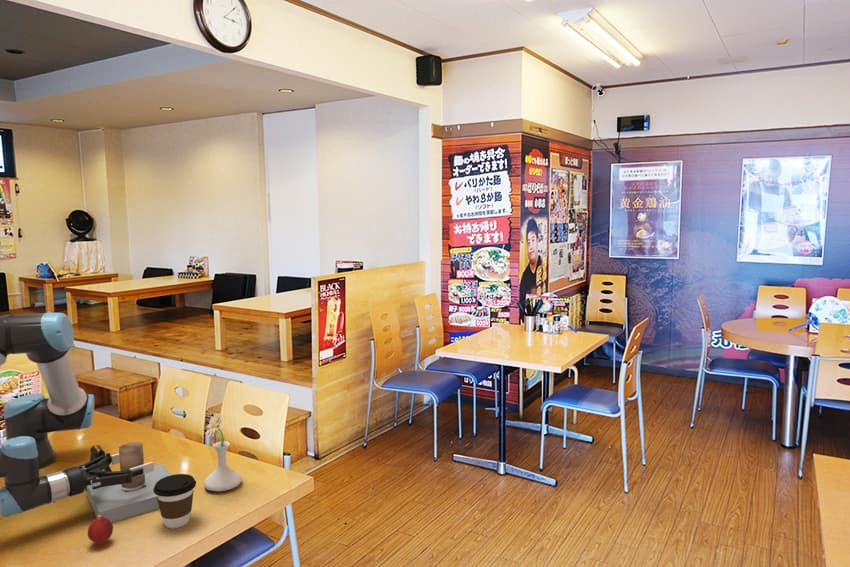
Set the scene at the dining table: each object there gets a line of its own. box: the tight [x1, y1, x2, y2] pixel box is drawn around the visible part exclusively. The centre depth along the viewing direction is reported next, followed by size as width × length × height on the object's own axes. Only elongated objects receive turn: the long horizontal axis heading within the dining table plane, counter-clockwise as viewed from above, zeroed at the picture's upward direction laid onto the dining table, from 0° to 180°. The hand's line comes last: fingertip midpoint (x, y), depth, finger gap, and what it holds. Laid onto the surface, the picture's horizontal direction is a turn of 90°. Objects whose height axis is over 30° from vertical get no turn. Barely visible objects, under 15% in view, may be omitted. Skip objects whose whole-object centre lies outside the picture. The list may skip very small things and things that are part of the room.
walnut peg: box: [118, 441, 146, 492], centre depth 177 cm, size 7×7×16 cm
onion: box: [87, 515, 114, 546], centre depth 154 cm, size 6×6×8 cm
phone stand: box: [84, 444, 113, 492], centre depth 187 cm, size 9×6×12 cm, turn 130°
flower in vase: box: [203, 412, 243, 492], centre depth 183 cm, size 13×11×25 cm
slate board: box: [86, 463, 172, 524], centre depth 178 cm, size 22×22×4 cm
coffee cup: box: [153, 473, 197, 529], centre depth 164 cm, size 11×11×12 cm
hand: (143, 459), depth 179 cm, fingers open, 13 cm apart
